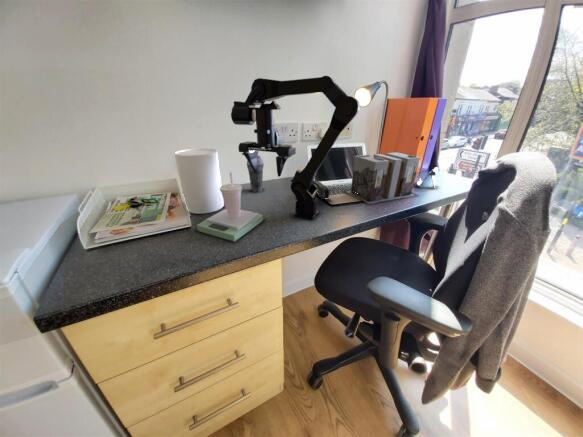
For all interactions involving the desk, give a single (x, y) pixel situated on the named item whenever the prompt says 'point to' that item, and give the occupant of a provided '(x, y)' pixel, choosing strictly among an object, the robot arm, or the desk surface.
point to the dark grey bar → (322, 190)
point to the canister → (200, 179)
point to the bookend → (383, 176)
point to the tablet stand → (427, 176)
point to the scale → (230, 224)
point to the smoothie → (232, 198)
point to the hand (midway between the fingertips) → (267, 174)
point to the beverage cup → (256, 175)
